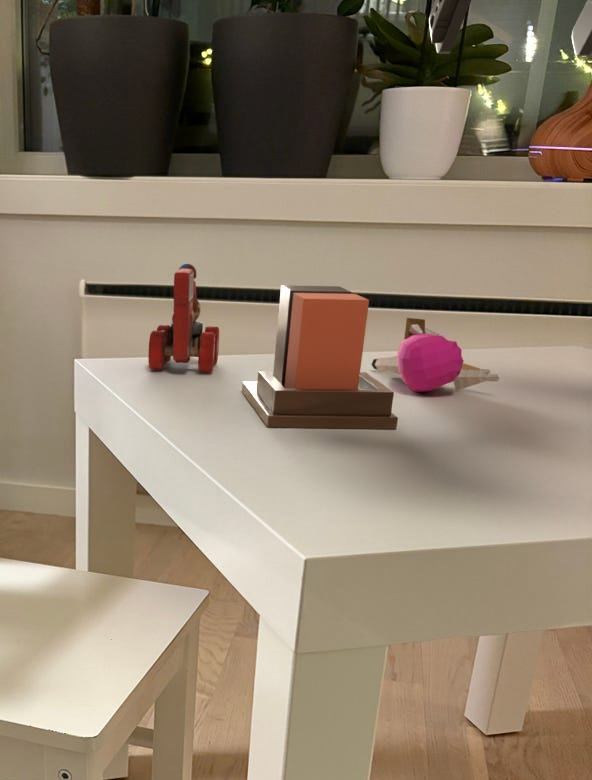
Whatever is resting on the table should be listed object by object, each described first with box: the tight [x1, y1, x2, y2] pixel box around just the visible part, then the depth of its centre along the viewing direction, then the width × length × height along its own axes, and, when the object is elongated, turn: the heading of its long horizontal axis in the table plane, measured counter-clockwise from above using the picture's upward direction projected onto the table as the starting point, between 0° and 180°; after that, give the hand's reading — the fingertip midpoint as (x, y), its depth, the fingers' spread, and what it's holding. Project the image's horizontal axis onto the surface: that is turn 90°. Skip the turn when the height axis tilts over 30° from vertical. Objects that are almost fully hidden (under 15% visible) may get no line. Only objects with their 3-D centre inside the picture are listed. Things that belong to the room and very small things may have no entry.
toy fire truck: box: [147, 263, 220, 373], centre depth 105 cm, size 7×12×10 cm, turn 170°
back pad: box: [284, 293, 370, 389], centre depth 85 cm, size 4×6×9 cm
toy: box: [370, 317, 500, 393], centre depth 99 cm, size 7×10×15 cm
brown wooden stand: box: [241, 284, 399, 430], centre depth 87 cm, size 15×11×10 cm
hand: (509, 45), depth 60 cm, fingers open, 8 cm apart
